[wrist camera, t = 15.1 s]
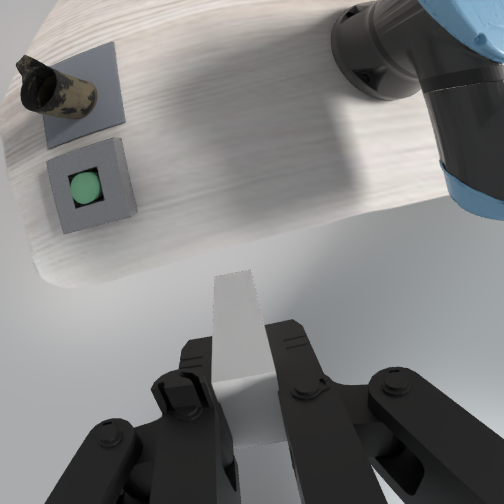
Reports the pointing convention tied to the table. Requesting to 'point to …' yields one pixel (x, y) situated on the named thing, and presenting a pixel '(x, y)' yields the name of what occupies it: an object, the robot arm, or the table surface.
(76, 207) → the button box
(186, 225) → the table surface
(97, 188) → the button
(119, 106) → the mat
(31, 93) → the mug
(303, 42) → the table surface
